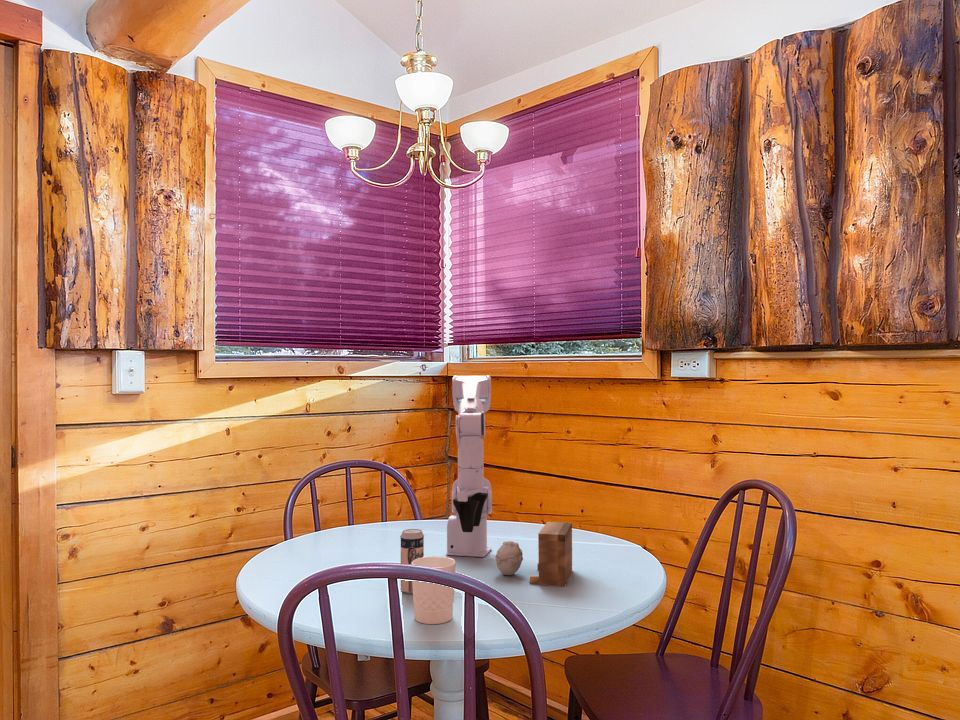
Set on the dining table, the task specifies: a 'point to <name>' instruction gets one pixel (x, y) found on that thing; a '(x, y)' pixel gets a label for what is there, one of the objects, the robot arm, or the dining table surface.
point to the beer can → (411, 552)
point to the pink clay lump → (509, 558)
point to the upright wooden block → (554, 554)
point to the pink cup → (433, 593)
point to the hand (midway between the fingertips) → (471, 528)
